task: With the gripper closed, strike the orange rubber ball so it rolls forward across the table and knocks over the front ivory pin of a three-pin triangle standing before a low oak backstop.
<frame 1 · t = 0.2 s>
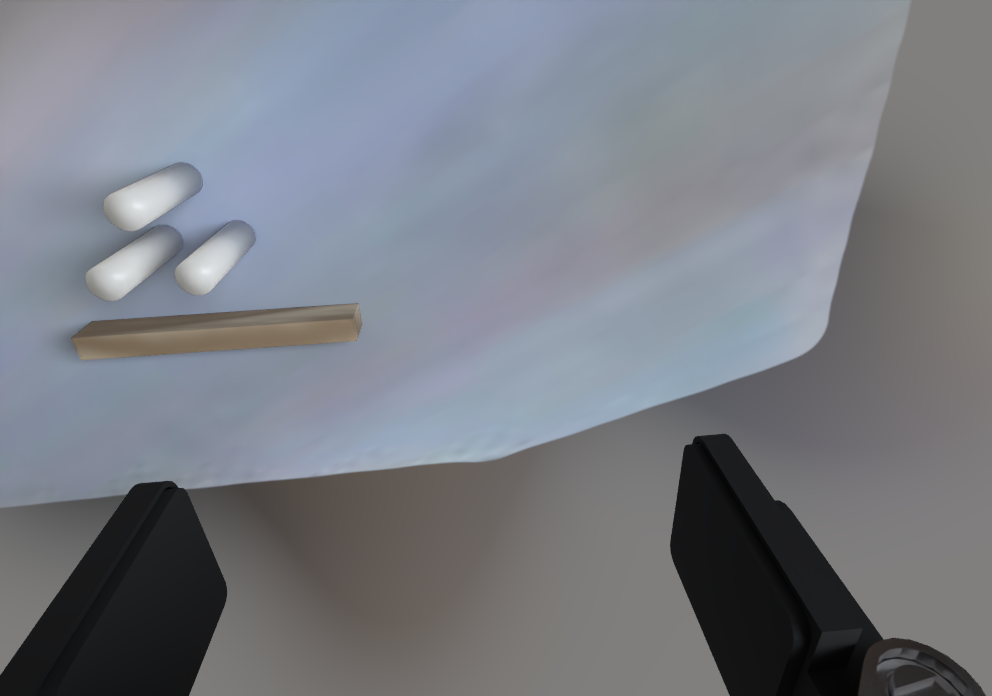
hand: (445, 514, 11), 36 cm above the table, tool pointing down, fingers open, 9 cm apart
backstop: (229, 322, 48), on the table
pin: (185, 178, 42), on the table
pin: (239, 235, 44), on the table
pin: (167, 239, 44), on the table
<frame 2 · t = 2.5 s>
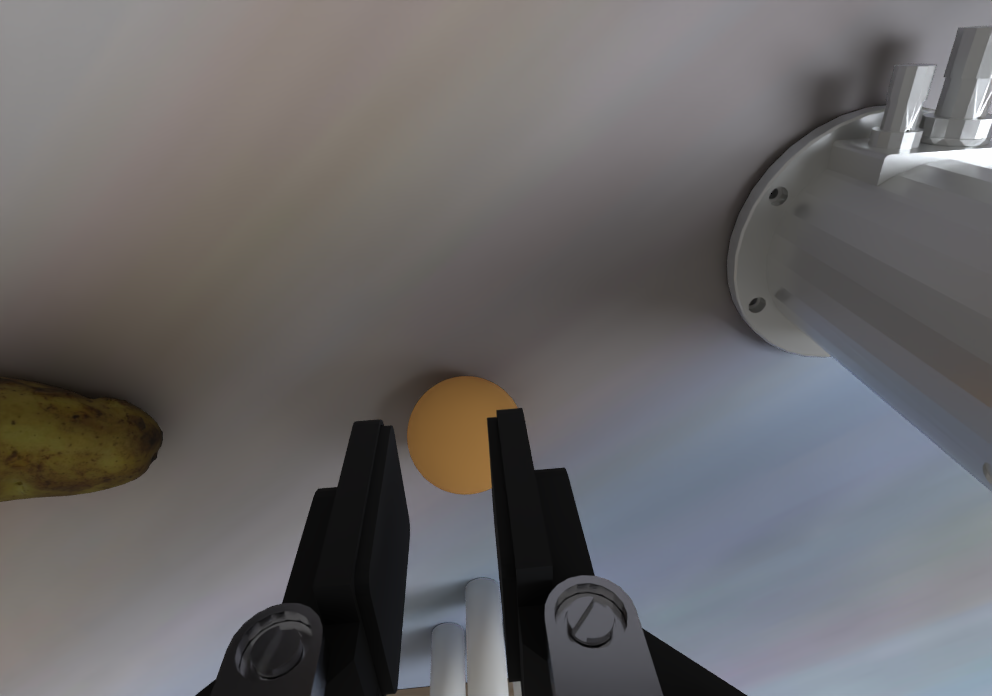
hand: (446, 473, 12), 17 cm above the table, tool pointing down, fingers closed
backstop: (491, 687, 45), on the table
ball: (466, 434, 29), on the table
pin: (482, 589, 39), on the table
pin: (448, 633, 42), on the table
potato: (41, 395, 30), on the table
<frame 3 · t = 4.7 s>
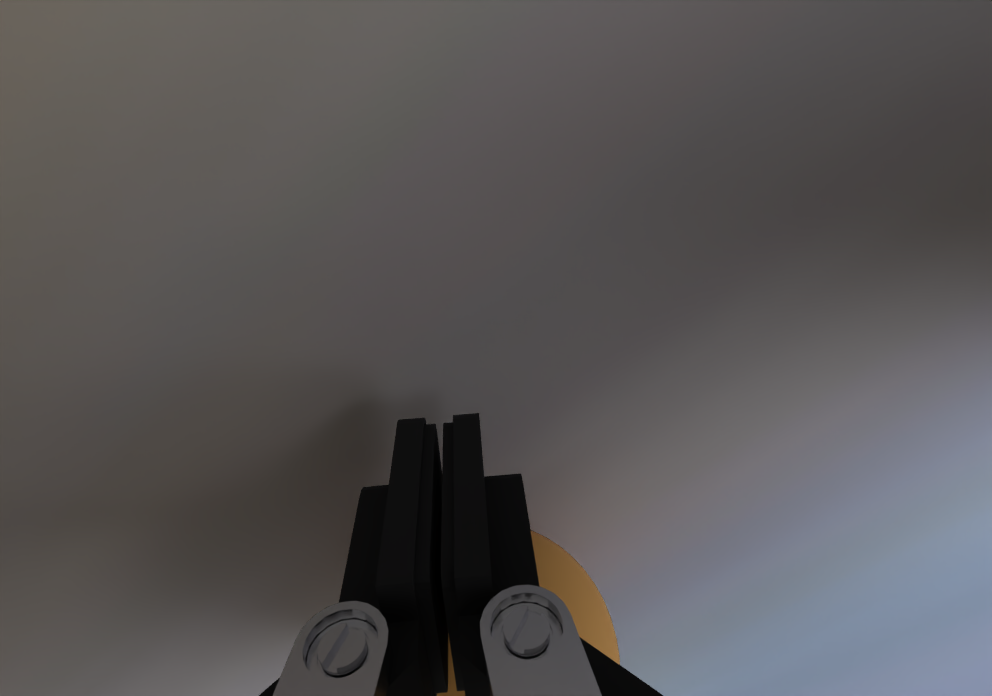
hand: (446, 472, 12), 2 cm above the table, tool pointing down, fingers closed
ball: (487, 657, 13), on the table
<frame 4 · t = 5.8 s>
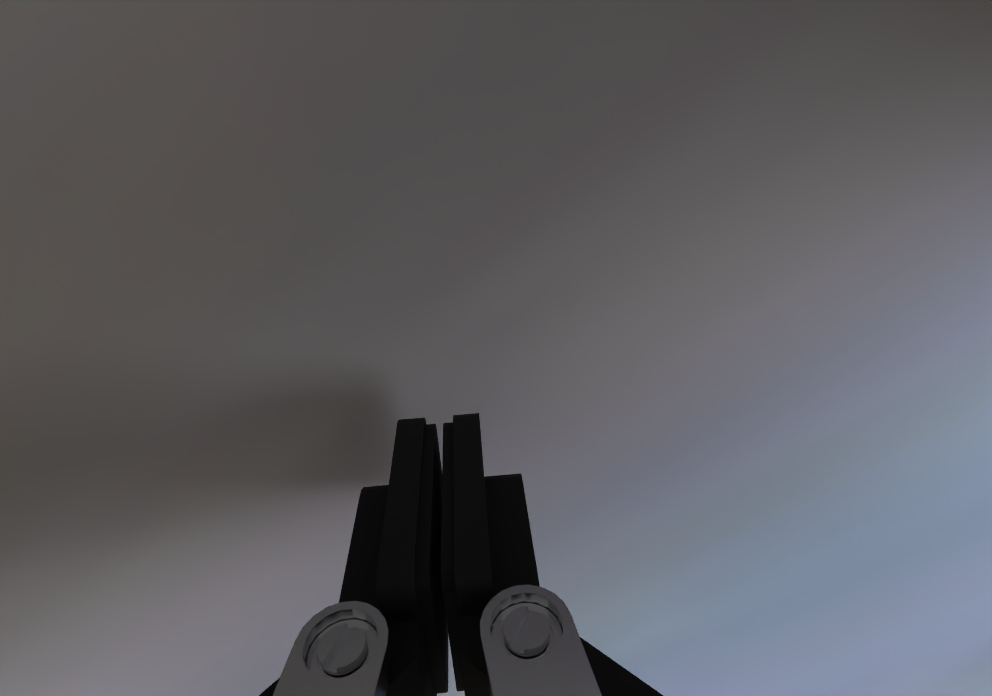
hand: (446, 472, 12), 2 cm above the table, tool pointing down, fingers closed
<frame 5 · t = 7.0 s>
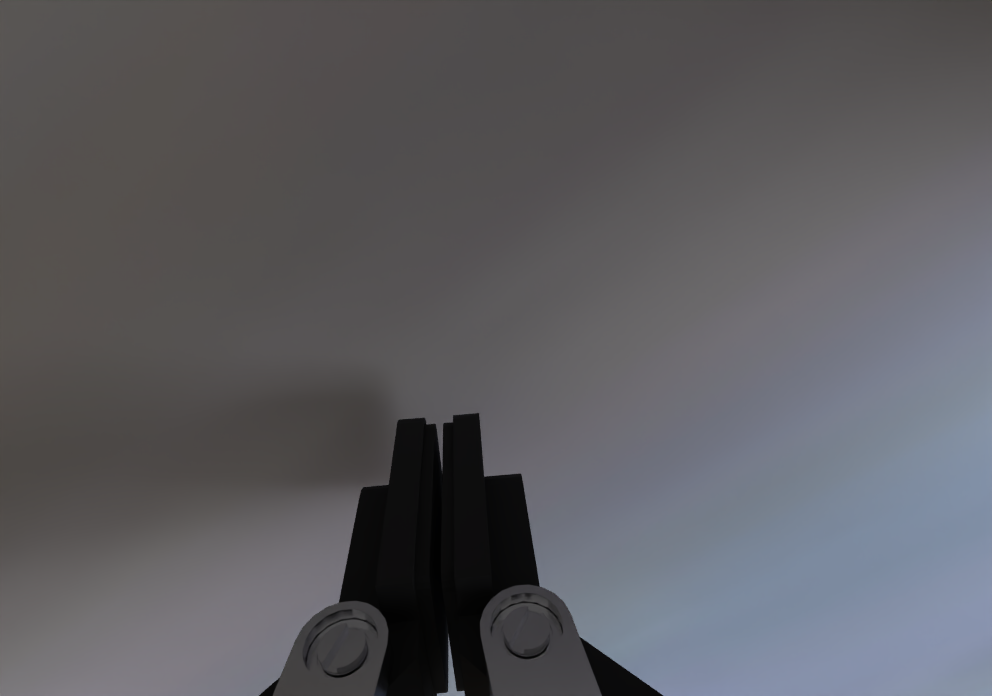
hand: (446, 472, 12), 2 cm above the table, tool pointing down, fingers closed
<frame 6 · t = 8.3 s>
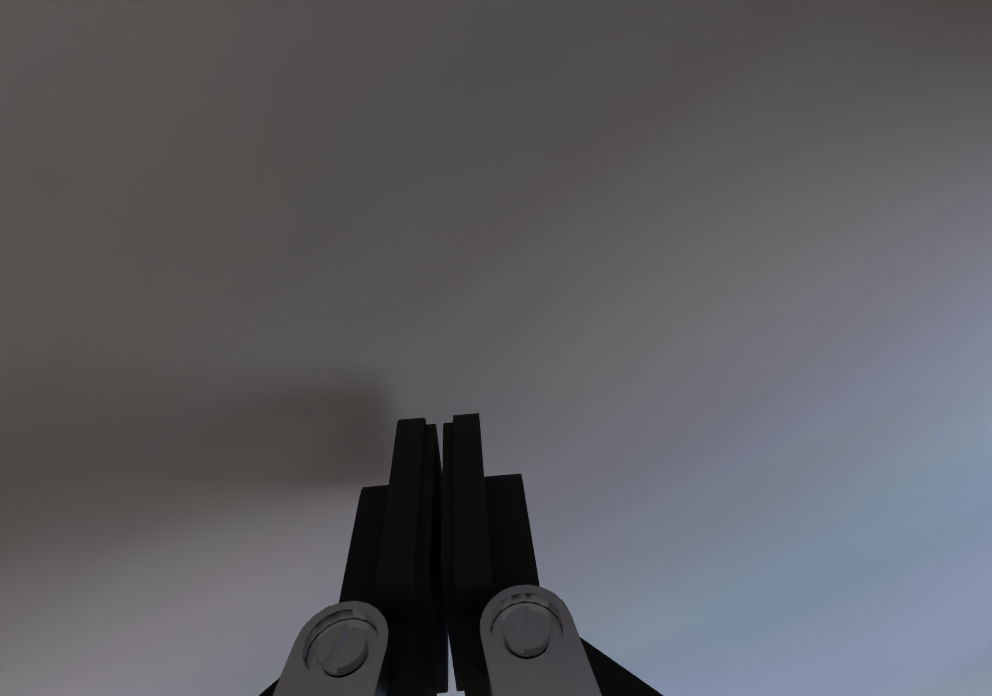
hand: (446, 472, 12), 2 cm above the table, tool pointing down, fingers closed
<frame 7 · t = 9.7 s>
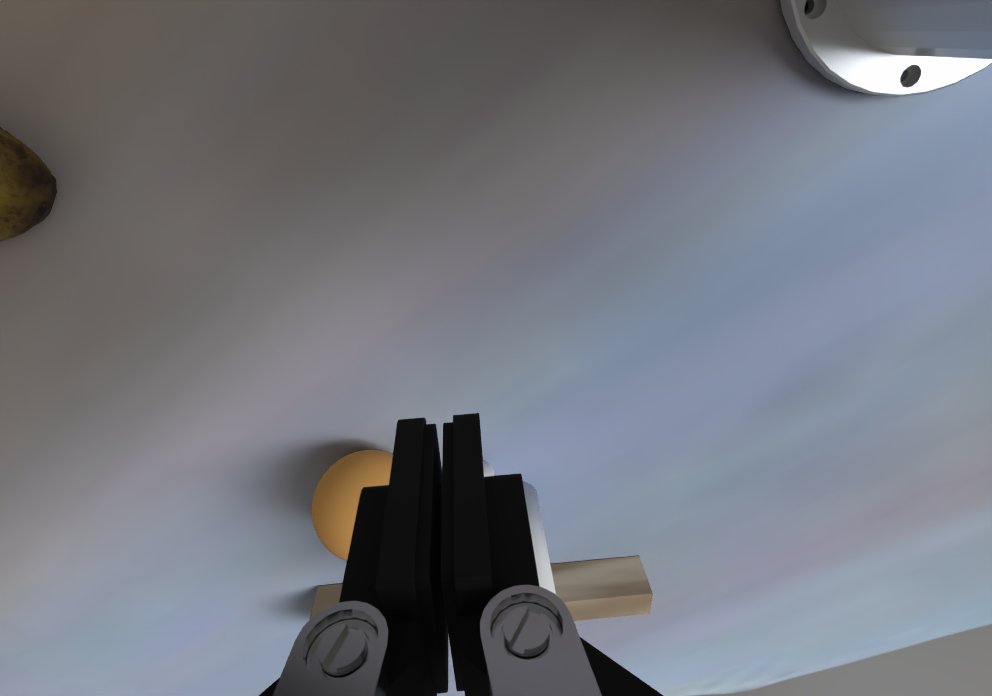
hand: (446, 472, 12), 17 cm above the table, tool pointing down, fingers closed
backstop: (480, 580, 39), on the table
ball: (369, 505, 31), on the table
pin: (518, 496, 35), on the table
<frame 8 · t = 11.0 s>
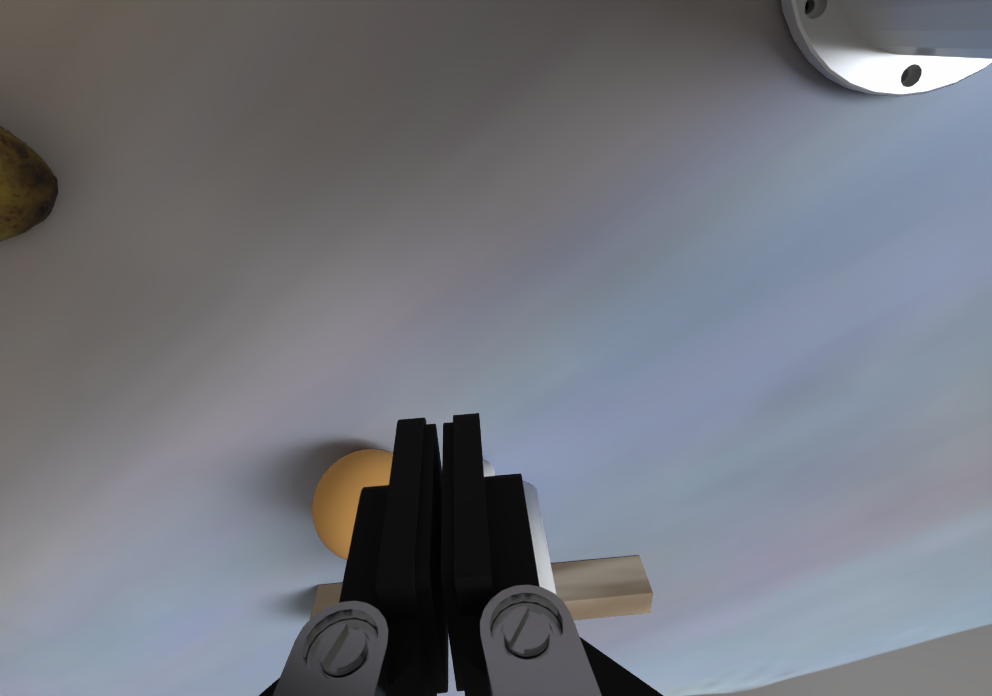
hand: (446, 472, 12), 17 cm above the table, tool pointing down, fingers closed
backstop: (481, 579, 39), on the table
ball: (369, 504, 31), on the table
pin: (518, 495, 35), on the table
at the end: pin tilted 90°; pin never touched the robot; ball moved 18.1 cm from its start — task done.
